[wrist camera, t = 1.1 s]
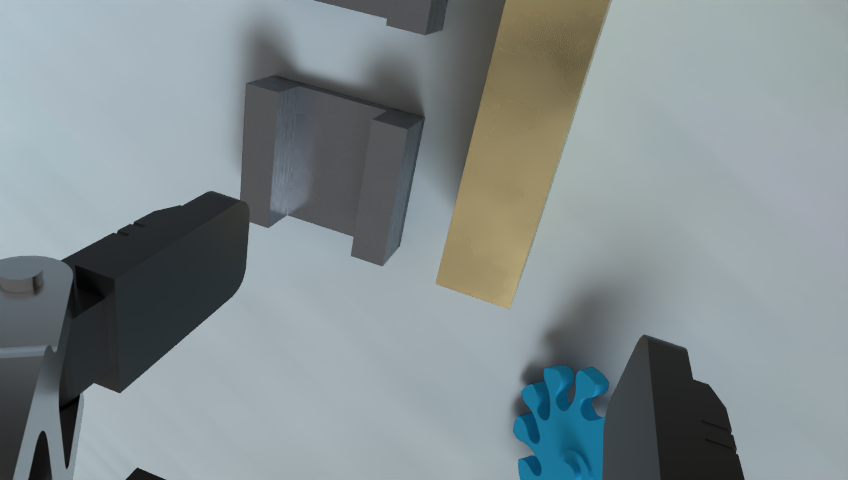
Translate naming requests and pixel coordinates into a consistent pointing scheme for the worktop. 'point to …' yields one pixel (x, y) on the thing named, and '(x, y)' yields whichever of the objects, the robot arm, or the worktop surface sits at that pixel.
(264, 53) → the worktop surface
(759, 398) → the worktop surface
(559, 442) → the gear
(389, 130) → the grey u-channel block
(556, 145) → the link bar
